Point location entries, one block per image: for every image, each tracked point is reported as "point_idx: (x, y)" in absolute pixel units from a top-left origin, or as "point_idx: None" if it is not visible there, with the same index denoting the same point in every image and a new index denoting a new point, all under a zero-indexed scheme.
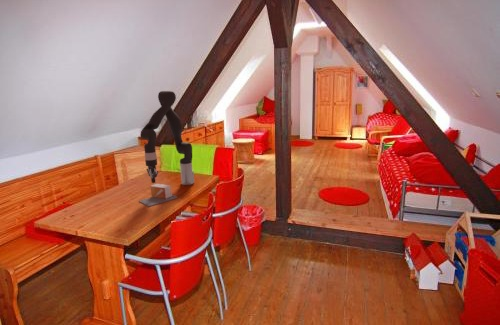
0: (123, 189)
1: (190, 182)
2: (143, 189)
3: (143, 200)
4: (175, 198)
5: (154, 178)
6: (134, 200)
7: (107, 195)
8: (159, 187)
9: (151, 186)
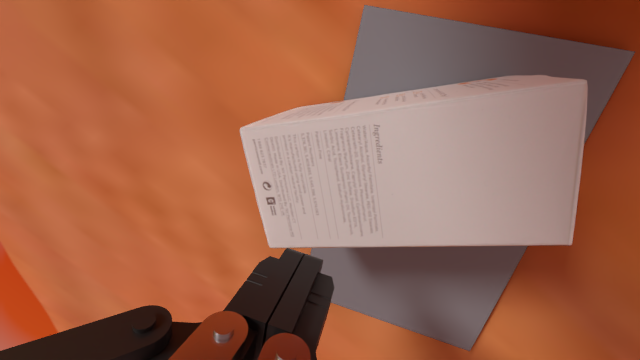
0: (3, 156)
1: None
2: (83, 73)
3: None
4: (607, 94)
5: (315, 350)
6: None
7: (58, 274)
8: (441, 245)
9: (290, 247)
